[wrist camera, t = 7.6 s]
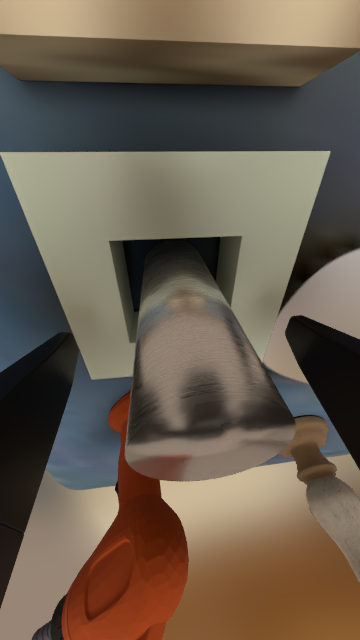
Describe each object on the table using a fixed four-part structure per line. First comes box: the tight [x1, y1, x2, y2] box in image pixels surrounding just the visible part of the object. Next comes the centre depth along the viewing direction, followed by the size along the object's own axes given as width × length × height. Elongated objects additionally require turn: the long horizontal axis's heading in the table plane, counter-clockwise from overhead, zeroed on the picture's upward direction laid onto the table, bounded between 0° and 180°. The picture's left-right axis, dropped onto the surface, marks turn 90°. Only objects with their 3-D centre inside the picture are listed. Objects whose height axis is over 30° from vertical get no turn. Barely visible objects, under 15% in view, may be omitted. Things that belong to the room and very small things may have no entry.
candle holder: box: [278, 416, 360, 583], centre depth 22 cm, size 9×9×20 cm
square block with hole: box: [0, 151, 331, 380], centre depth 12 cm, size 12×12×4 cm
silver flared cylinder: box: [125, 240, 296, 481], centre depth 9 cm, size 4×4×11 cm
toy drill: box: [32, 392, 189, 640], centre depth 18 cm, size 5×19×15 cm, turn 140°
